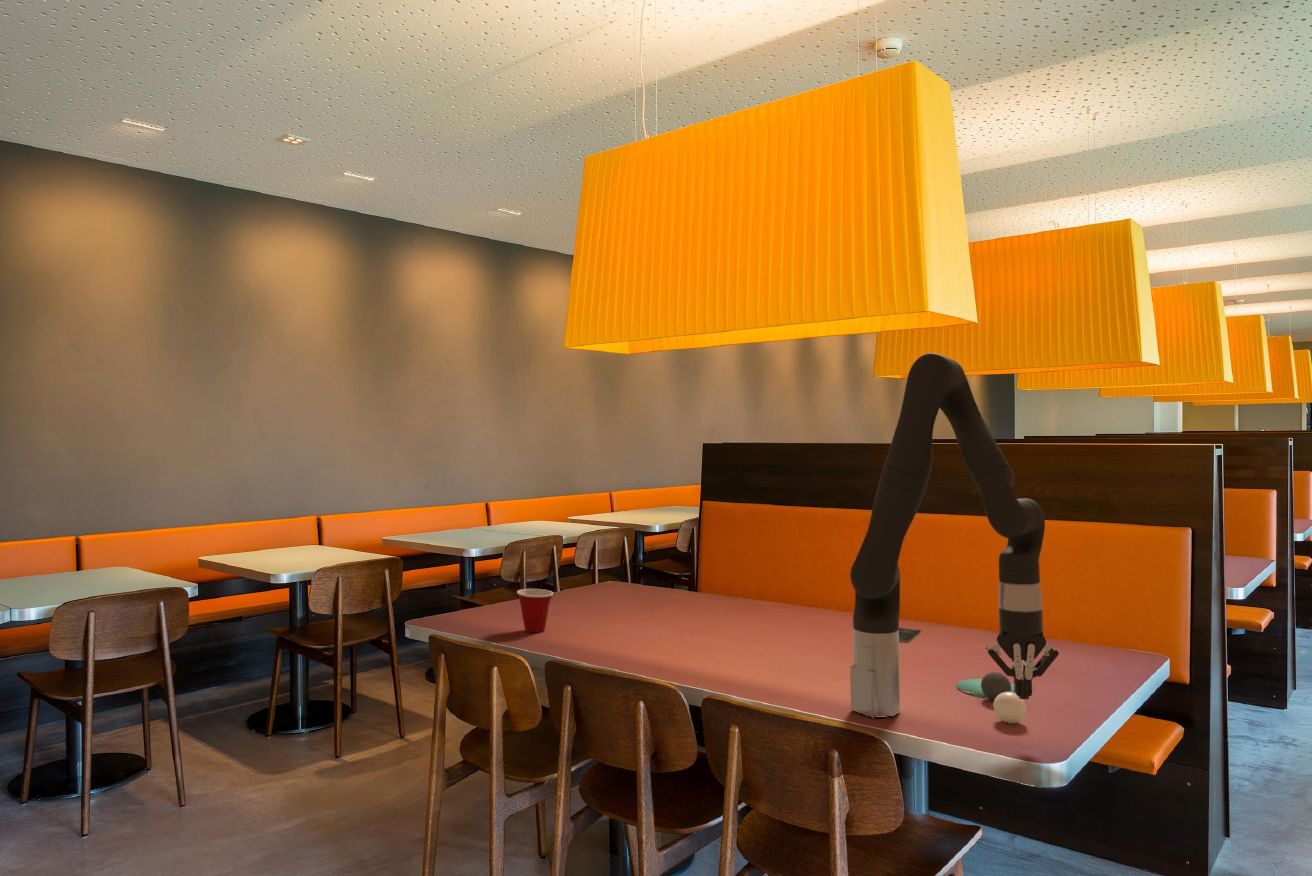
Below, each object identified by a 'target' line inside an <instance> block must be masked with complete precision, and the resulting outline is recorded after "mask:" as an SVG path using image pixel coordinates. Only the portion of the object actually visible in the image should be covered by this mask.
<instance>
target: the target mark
mask: <svg viewBox="0 0 1312 876" xmlns="http://www.w3.org/2000/svg"><path fill="white" fill-rule="evenodd" d="M982 679H983V678H970V679H969V678H968V679H964V680H960V681H958V682H957V683H956V685H955V687H957V688H958V689H959V690H958V689H957V688H956V689H957V690H958V691H960V690H961V691H966V692H967V691H969V692H971V693H968V694H967V695H969V694H971V695H970V696H973V695H976V696H975V697H977V696H981V697H980V698H983V697H986V696H985V694H984V693H983V691H982V688H981V682H982ZM1010 684H1011V692H1013V693H1015V691H1014V683H1011V682H1010ZM961 691H960V692H961ZM972 692H974V693H972ZM976 692H977V693H976ZM1015 694H1016V693H1015Z"/></svg>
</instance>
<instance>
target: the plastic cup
mask: <svg viewBox="0 0 1312 876" xmlns="http://www.w3.org/2000/svg"><path fill="white" fill-rule="evenodd" d="M516 593H517V595H518V597H519V603H520V609H521V615H522V620H523V625H524V630H525V632H526V631H527V632H540V633H542V632H541V631H544V630H545V631H546V625H547V620H548V614H549V608H550V603H551V599H552V597H553V595H554V592H553V591H552V590H548V589H542V588H523V589H518V590H517V591H516ZM545 631H544V632H545ZM527 632H526V633H527Z"/></svg>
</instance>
